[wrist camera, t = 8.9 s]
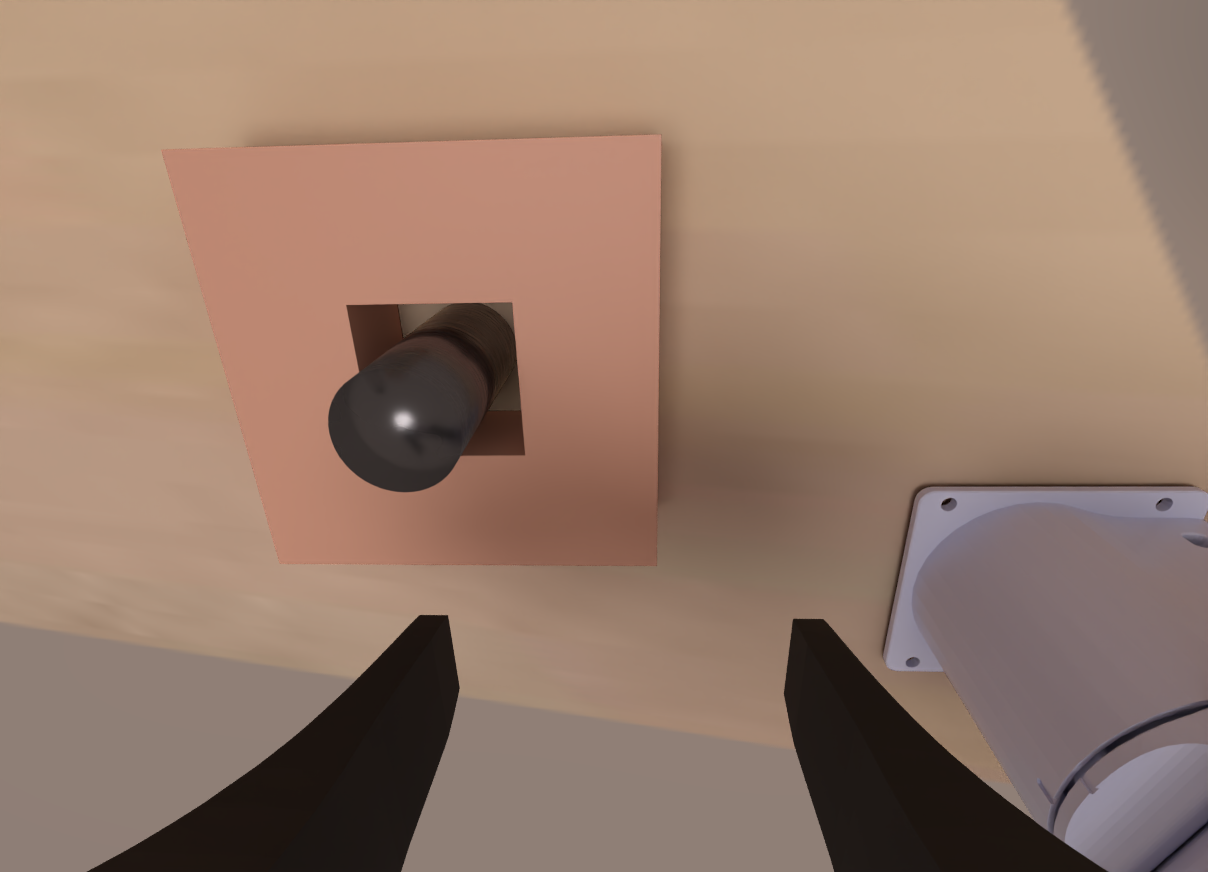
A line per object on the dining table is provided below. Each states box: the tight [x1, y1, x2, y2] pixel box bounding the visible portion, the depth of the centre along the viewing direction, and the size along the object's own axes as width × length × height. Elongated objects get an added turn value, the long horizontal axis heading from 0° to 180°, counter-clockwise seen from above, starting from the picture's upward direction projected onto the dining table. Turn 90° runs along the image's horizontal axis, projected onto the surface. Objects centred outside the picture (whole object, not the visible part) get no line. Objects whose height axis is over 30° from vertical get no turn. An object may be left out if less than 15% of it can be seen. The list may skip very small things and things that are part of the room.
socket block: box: [161, 134, 661, 566], centre depth 19 cm, size 12×12×4 cm
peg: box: [328, 303, 517, 492], centre depth 17 cm, size 3×3×7 cm
